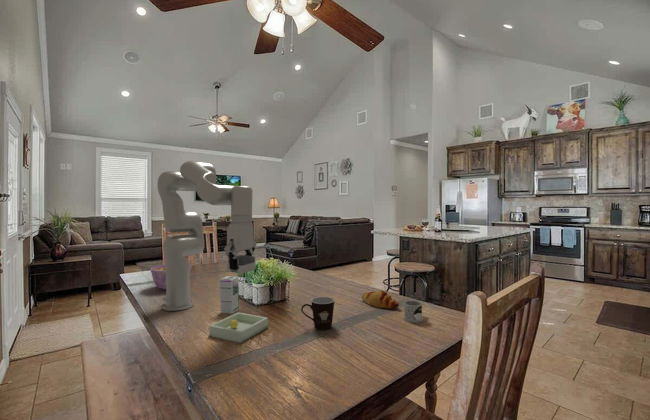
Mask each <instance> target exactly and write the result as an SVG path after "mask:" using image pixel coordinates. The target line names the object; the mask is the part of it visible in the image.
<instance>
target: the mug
mask: <svg viewBox="0 0 650 420" xmlns="http://www.w3.org/2000/svg"><path fill="white" fill-rule="evenodd" d="M403 308H404V310H403V312H404V313H403V315H404V318H403V319H404V321H405V322H406V323H407V322H408V323H411V324H419V323H422V321H423V316H422V315H423V303H422V302H421V301H418V300H405V301H403Z"/></svg>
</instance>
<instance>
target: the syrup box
mask: <svg viewBox="0 0 650 420" xmlns="http://www.w3.org/2000/svg"><path fill="white" fill-rule="evenodd" d="M239 288H240V287H239V276H237V275H236V276H235V275H228V276H227V275H226V276H225V277H222V278H220V279H219V296H220V297H219V298H220V313H221V314H227V315H228V314H231V315H234V314H235V313H237V311H239V310H240V293H239V291H240V289H239Z"/></svg>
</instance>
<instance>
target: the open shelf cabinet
mask: <svg viewBox="0 0 650 420" xmlns="http://www.w3.org/2000/svg"><path fill="white" fill-rule="evenodd" d="M236 259H237V270H232V269H229V258H228V257H227V263H226V272H228V273H236V274H240V275H241V274H246V273H248V272H252V271H254V270H256V256H255V255H252V256H248V255H245V254H237V257H236Z"/></svg>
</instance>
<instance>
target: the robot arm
mask: <svg viewBox="0 0 650 420" xmlns="http://www.w3.org/2000/svg"><path fill="white" fill-rule="evenodd" d="M216 175H217V170H216V167H215V166H214V165H213V164H211V163H209V162H203V161H202V162H201V161H193V160H188V161H185V162H183V163H181V165H180V168H179V171H176V170H170V171H163V172H161V173H160V174H159V176H158V179H157V183H156V184H157V185H156V186H157V191H158V195H159V197H160V200H161V205H162V212H163V221H164V228H165V230H166V232H167V233H172V234H175V233H176V234H177V233H188V234H181V235H173V236H169V237H167V238H166V239H165V240H164V241H163V245H162V250H163V255H164V260H165V265H166V290H165V293H166V294H165V296H163V297H162V298H161V300H162V301H165V303H164V304H163V305H162V309H163V310H164V311H166V312H167V311H168V312H174V311H175V312H177V311H178V312H179V311H184V310H187V309H190V308H192V307H193V306H194V305H195V304H194V303H195V302H194V301H193V300H191V284H190V283H191V279H190V278H191V277H190V275H191V270H190V268H189V265H190V264H189V262H188V261H187V259H186V257H188V256H194V255H199V254H201V253H202V252H203V251H204V249H205V237H204V229H203V228H204V226H203V221H202V217H201V216H200V214H199V213H198V212H196V211H193V210H191V211H190V210H189V211H188V210H186V211H185V206H184V200H183V199H182V197H181V196H180V194H178V193H177V192H178V191H180V192H196V193H197V196H198V197H199V199H201V200H202V201H204V202H205V203H207V204H209V205H212V206H230V223H229V225H228V229H227V236H226V245H225V247H224V248H223V250H224V252H225V254H226V256H227V259H228V258H229V269H232V270H237V259H236V257H237V255H239V254H238V253H240V252H243V251H244V252H245V254H244V255H248V256H254V251H255V249H256V247H257V242H256V241H255V237H254V236H255V235H254V226H253V225H254V224H253V189H252V187H251V186H249V185H228V184H227V185H226V184H217V176H216Z"/></svg>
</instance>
